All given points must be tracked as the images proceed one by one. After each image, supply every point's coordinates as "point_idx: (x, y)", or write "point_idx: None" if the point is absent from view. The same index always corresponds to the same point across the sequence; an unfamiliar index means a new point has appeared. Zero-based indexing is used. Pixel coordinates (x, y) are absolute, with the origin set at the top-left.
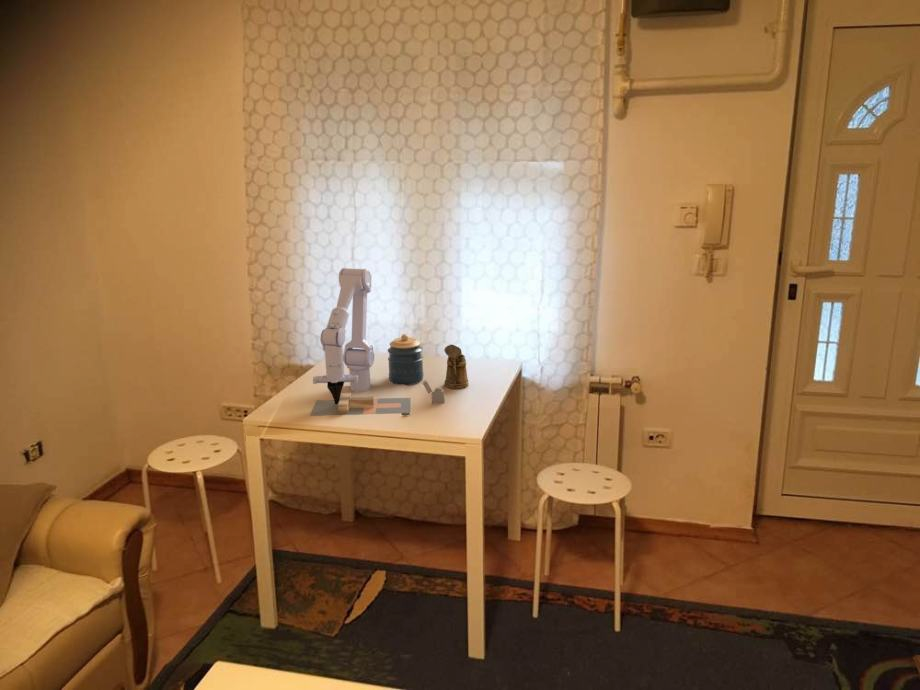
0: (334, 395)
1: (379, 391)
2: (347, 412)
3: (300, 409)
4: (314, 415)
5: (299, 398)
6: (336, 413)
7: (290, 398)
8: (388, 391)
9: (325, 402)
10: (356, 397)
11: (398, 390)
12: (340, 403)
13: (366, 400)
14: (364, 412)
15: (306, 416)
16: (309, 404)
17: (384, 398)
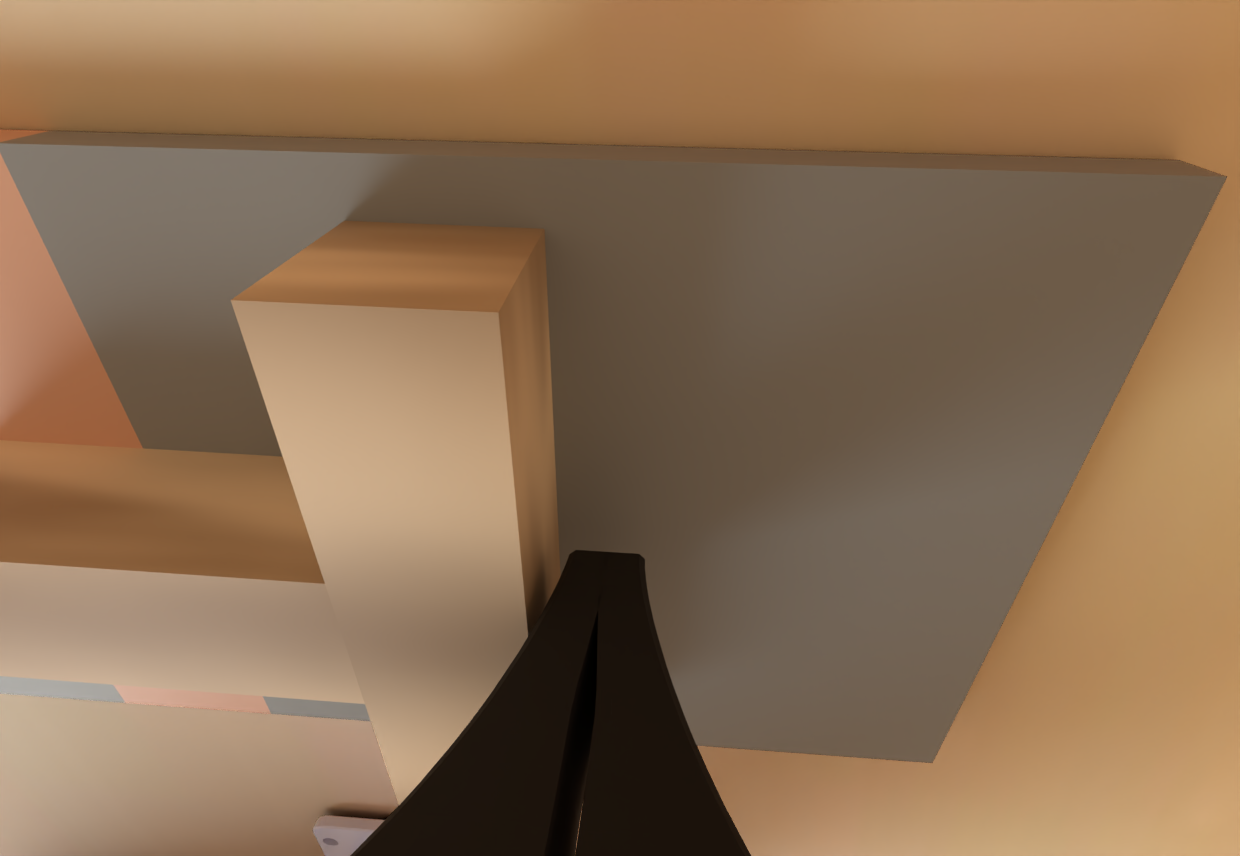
0: (622, 707)
1: (263, 841)
2: (338, 228)
3: (1204, 591)
4: (1107, 179)
5: (1101, 840)
6: (590, 253)
7: (1207, 853)
8: (176, 830)
9: (810, 697)
10: (221, 662)
11: (92, 832)
12: (452, 416)
13: None
14: (20, 241)
15: (1209, 300)
16: (1021, 707)
17: (47, 694)
